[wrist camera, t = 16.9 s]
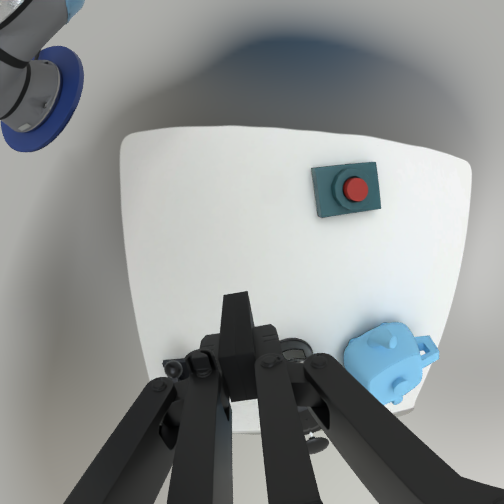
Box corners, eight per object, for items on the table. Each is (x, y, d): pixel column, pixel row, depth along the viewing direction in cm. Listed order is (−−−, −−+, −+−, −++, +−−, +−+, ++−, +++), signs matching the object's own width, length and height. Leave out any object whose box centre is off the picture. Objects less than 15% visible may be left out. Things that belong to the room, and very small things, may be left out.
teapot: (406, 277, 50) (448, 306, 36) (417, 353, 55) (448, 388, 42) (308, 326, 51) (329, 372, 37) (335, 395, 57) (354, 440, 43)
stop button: (341, 179, 41) (345, 179, 39) (362, 176, 41) (366, 176, 39) (344, 201, 42) (348, 202, 40) (364, 199, 42) (369, 200, 40)
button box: (311, 168, 44) (317, 167, 40) (370, 162, 44) (381, 161, 40) (317, 216, 46) (324, 219, 42) (375, 207, 46) (386, 210, 42)
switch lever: (166, 360, 46) (160, 362, 43) (183, 358, 46) (178, 361, 43) (180, 425, 43) (175, 431, 40) (197, 425, 43) (193, 431, 40)
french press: (287, 327, 51) (317, 418, 29) (323, 348, 53) (364, 432, 30) (251, 369, 53) (259, 462, 31) (287, 386, 55) (308, 473, 33)
